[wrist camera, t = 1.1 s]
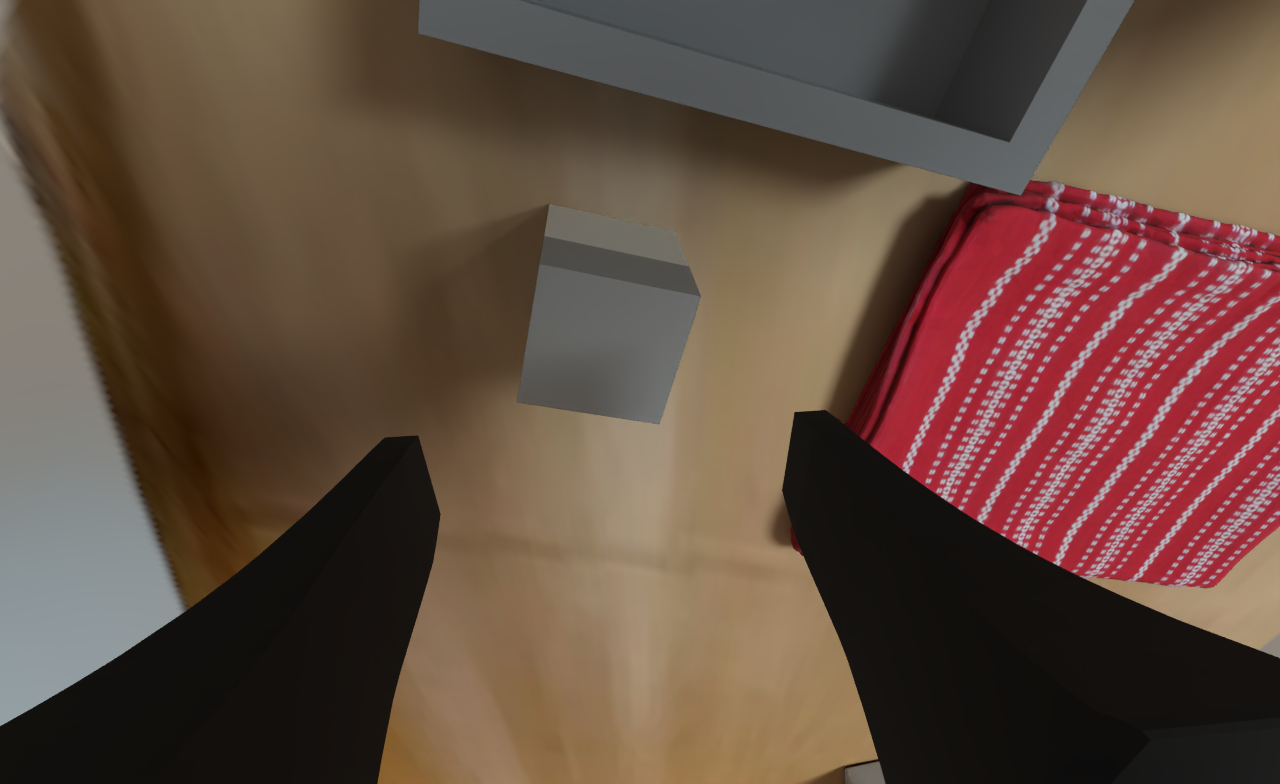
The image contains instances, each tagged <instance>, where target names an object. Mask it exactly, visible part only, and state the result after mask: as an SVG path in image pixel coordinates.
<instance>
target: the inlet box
mask: <svg viewBox="0 0 1280 784" xmlns="http://www.w3.org/2000/svg"><path fill="white" fill-rule="evenodd" d="M1134 1H1135V0H419V24H418V33H419V34H422V35H426V36H430V37H433V38H437V39H441V40H445V41H448V42H452V43H456V44H459V45H463V46H467V47H471V48H474V49H478V50H482V51H485V52H489V53H493V54H497V55H500V56H504V57H508V58H512V59H515V60H519V61H523V62H526V63H530V64H534V65H538V66H541V67H545V68H549V69H552V70H556V71H560V72H564V73H567V74H571V75H575V76H578V77H582V78H586V79H590V80H593V81H597V82H601V83H604V84H608V85H612V86H616V87H619V88H623V89H627V90H630V91H634V92H638V93H642V94H645V95H649V96H653V97H656V98H660V99H664V100H668V101H671V102H675V103H679V104H683V105H686V106H690V107H694V108H697V109H701V110H705V111H709V112H712V113H716V114H720V115H723V116H727V117H731V118H735V119H738V120H742V121H746V122H749V123H753V124H757V125H761V126H764V127H768V128H772V129H775V130H779V131H783V132H787V133H790V134H794V135H798V136H801V137H805V138H809V139H813V140H816V141H820V142H824V143H827V144H831V145H835V146H839V147H842V148H846V149H850V150H853V151H857V152H861V153H865V154H868V155H872V156H876V157H880V158H883V159H887V160H891V161H894V162H898V163H902V164H906V165H909V166H913V167H917V168H920V169H924V170H928V171H932V172H935V173H939V174H943V175H946V176H950V177H954V178H958V179H961V180H965V181H969V182H972V183H976V184H980V185H984V186H987V187H991V188H995V189H998V190H1002V191H1006V192H1010V193H1013V194H1017V195H1022V193H1023V191H1024V189H1025V188H1026V186H1027V184H1028V182H1029V181H1030V179H1031V177H1032V176H1033V174H1034V172H1035V170H1036V169H1037V167H1038V165H1039V164H1040V162H1041V160H1042V158H1043V157H1044V155H1045V153H1046V152H1047V150H1048V148H1049V146H1050V145H1051V143H1052V141H1053V140H1054V138H1055V136H1056V134H1057V133H1058V131H1059V129H1060V128H1061V126H1062V124H1063V122H1064V121H1065V119H1066V117H1067V116H1068V114H1069V112H1070V110H1071V109H1072V107H1073V105H1074V104H1075V102H1076V100H1077V98H1078V97H1079V95H1080V93H1081V92H1082V90H1083V88H1084V86H1085V85H1086V83H1087V81H1088V79H1089V78H1090V76H1091V74H1092V73H1093V71H1094V69H1095V67H1096V66H1097V64H1098V62H1099V61H1100V59H1101V57H1102V55H1103V54H1104V52H1105V50H1106V49H1107V47H1108V45H1109V43H1110V42H1111V40H1112V38H1113V37H1114V35H1115V33H1116V31H1117V30H1118V28H1119V26H1120V25H1121V23H1122V21H1123V19H1124V18H1125V16H1126V14H1127V13H1128V11H1129V9H1130V7H1131V6H1132V4H1133V2H1134Z"/></svg>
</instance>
